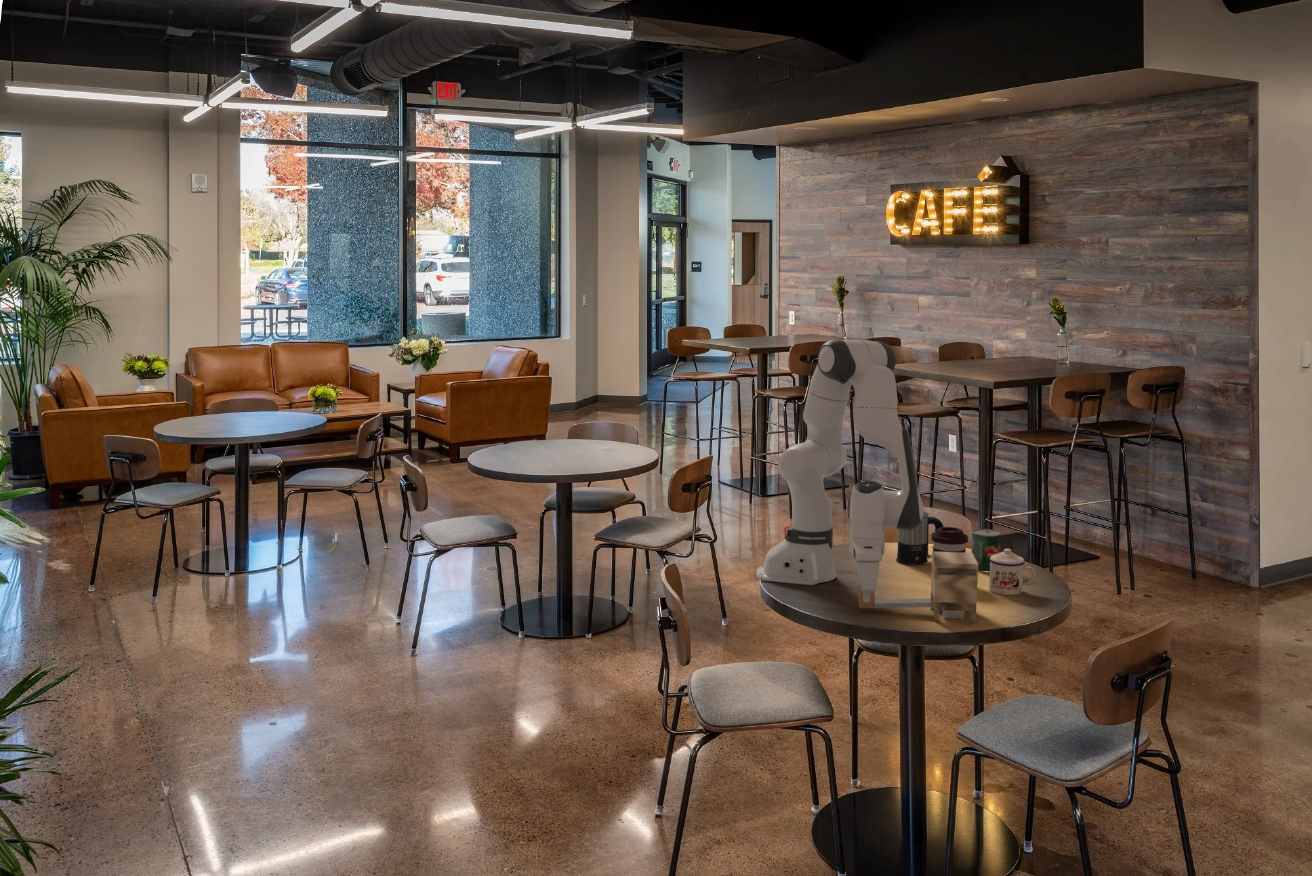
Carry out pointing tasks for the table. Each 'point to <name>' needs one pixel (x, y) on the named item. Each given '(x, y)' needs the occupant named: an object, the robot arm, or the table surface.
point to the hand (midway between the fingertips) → (865, 598)
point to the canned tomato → (985, 546)
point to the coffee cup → (949, 540)
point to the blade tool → (891, 602)
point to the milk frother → (916, 542)
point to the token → (952, 611)
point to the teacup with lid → (1007, 573)
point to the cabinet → (954, 582)
